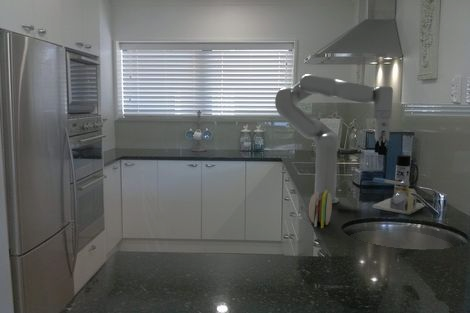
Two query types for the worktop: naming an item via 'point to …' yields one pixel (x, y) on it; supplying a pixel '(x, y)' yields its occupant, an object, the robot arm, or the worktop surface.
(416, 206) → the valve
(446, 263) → the worktop surface
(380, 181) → the lever
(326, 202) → the hamburger
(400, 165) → the spray can
